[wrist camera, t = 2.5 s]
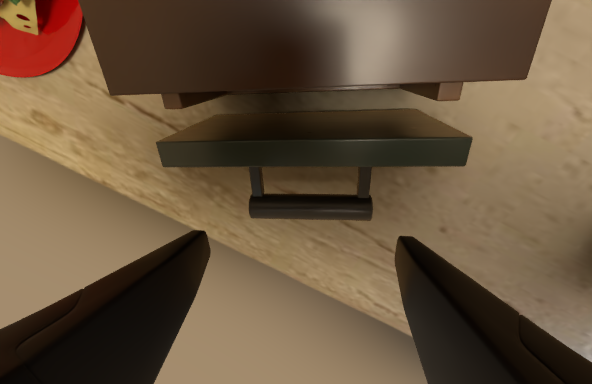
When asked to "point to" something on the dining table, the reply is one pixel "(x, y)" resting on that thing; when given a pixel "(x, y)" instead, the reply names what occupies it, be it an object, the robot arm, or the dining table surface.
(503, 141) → the dining table surface
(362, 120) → the drawer
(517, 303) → the dining table surface
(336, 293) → the dining table surface
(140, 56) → the cabinet
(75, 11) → the hamburger
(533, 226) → the dining table surface
